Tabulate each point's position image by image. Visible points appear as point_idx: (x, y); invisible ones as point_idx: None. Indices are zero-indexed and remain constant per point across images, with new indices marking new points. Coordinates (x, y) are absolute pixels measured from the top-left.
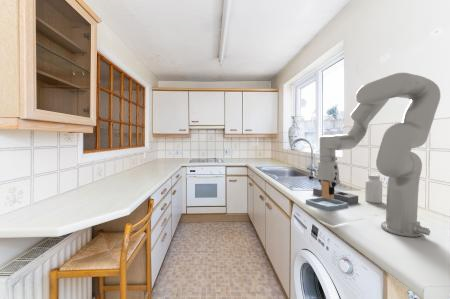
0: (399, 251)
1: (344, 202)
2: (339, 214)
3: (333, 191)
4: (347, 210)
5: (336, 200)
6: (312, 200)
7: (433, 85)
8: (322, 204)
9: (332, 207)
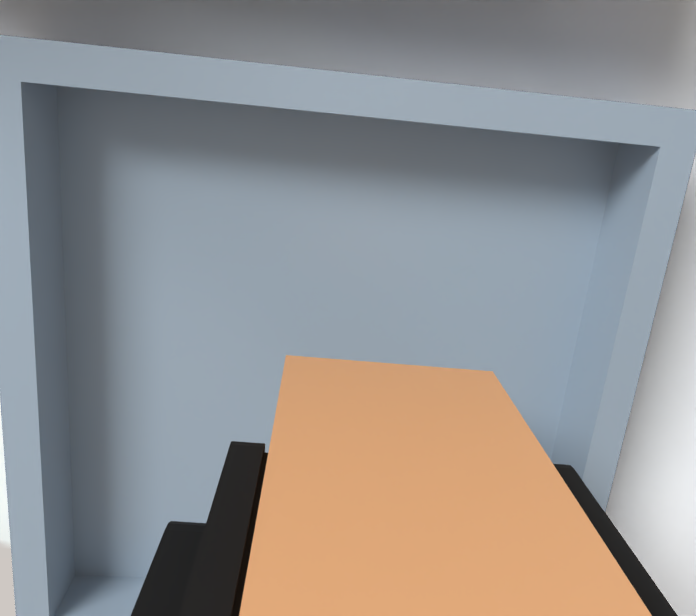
0: None
1: (624, 129)
2: (677, 528)
3: None
4: (686, 253)
5: (408, 119)
6: (57, 489)
7: None
8: None
9: None
